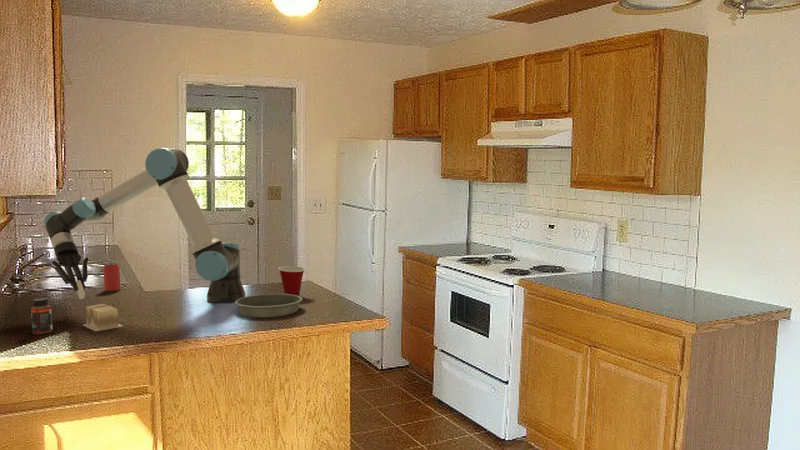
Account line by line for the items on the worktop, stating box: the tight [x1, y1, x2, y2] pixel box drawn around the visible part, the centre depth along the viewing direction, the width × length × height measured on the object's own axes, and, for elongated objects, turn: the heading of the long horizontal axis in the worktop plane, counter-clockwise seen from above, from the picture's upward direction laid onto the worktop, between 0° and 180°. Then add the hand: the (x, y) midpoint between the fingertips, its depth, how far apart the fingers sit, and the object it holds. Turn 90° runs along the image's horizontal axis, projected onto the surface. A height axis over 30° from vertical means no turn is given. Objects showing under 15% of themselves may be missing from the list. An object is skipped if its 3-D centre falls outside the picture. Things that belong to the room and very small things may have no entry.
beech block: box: [84, 303, 119, 331], centre depth 230 cm, size 6×6×13 cm
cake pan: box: [234, 293, 303, 318], centre depth 250 cm, size 25×25×4 cm
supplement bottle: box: [30, 297, 54, 336], centre depth 221 cm, size 6×6×11 cm
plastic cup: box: [278, 265, 306, 296], centre depth 276 cm, size 11×11×12 cm
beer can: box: [103, 262, 122, 293], centre depth 296 cm, size 7×7×12 cm
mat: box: [82, 323, 124, 332], centre depth 230 cm, size 12×9×1 cm
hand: (82, 296), depth 243 cm, fingers closed
